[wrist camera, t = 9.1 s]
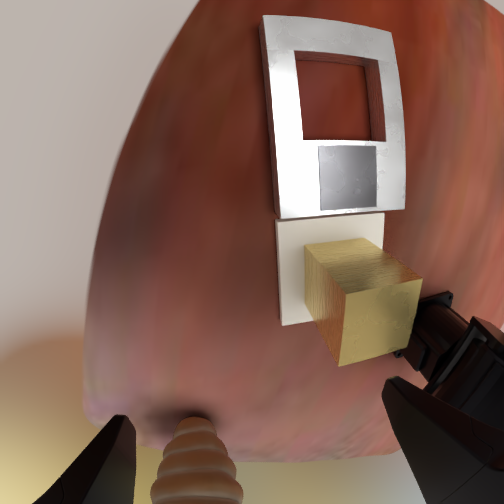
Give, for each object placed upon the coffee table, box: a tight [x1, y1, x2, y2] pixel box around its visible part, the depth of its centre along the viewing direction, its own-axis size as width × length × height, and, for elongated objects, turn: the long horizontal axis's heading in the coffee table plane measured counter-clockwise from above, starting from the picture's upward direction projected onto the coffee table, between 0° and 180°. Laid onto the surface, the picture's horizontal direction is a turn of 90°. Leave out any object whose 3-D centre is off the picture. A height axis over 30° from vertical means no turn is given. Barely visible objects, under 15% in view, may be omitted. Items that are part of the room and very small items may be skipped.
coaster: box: [275, 211, 384, 326], centre depth 20 cm, size 8×8×1 cm
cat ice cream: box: [150, 417, 243, 504], centre depth 17 cm, size 9×8×18 cm
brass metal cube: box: [304, 238, 423, 367], centre depth 17 cm, size 5×5×7 cm
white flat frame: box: [258, 15, 406, 219], centre depth 16 cm, size 9×13×2 cm
